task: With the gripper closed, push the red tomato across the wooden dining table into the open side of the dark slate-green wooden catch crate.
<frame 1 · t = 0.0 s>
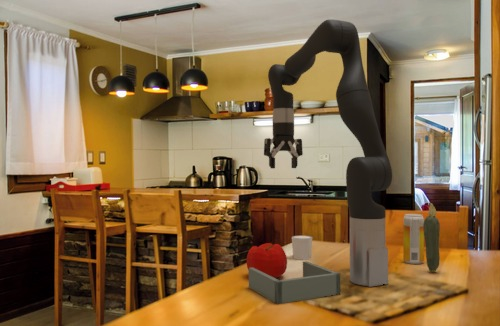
hand: (283, 168, 166), 29 cm above the table, fingers open, 8 cm apart
vegetable: (431, 273, 136), on the table
tomato: (266, 278, 131), on the table
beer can: (413, 263, 149), on the table
white cylindrical piece: (302, 258, 156), on the table
catch crate: (294, 291, 117), on the table
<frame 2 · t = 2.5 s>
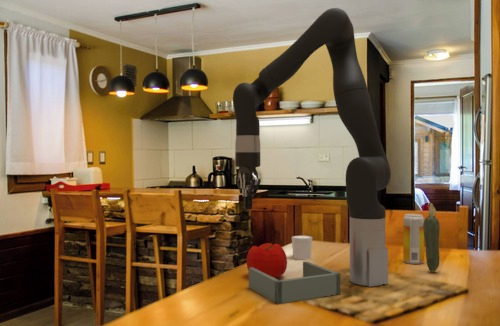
hand: (247, 208, 142), 18 cm above the table, fingers closed
nothing on the table moved.
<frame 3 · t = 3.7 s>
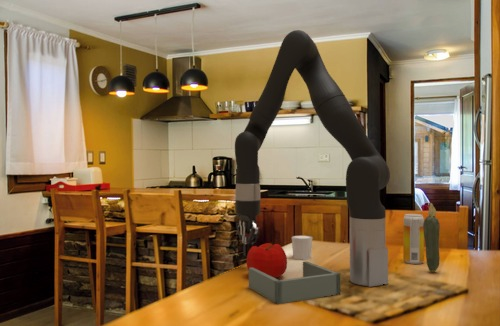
hand: (247, 256, 142), 4 cm above the table, fingers closed
nothing on the table moved.
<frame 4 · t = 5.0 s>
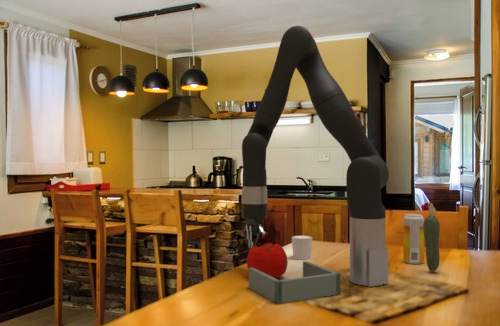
hand: (254, 261, 138), 3 cm above the table, fingers closed
tomato: (266, 278, 131), on the table, touching gripper, hand
everything else where it was.
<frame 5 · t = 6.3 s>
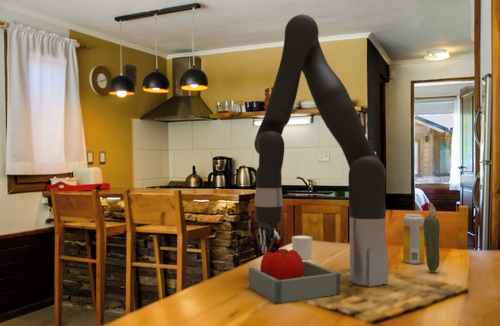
hand: (268, 267, 130), 3 cm above the table, fingers closed
tomato: (281, 286, 122), on the table, touching gripper
everything else where it was.
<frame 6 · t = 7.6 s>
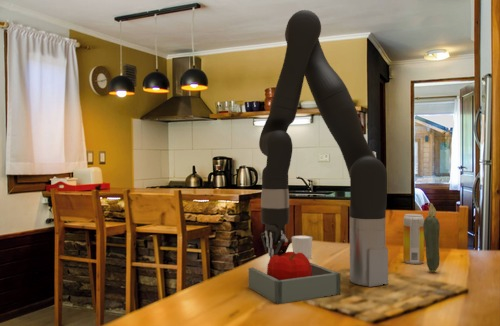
hand: (274, 270, 126), 3 cm above the table, fingers closed
tomato: (289, 290, 119), on the table, touching gripper
everything else where it was.
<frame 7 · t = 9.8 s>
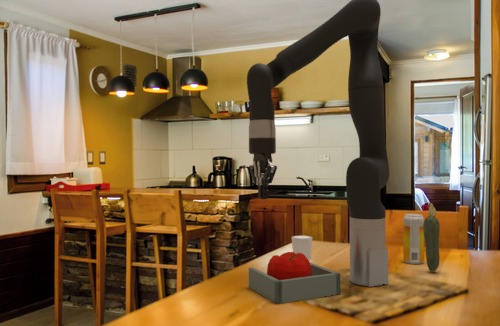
hand: (262, 198, 132), 22 cm above the table, fingers closed
tomato: (289, 290, 119), on the table
everything else where it was.
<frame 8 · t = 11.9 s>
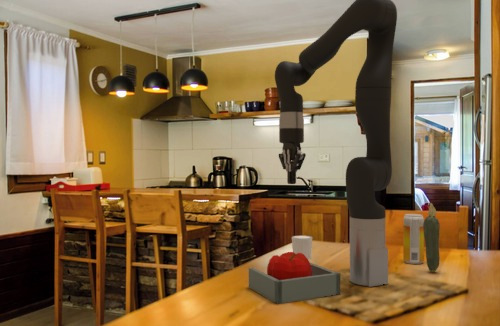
hand: (291, 183, 146), 25 cm above the table, fingers closed
nothing on the table moved.
at the end: tomato inside the target area (1.0 cm from its centre), on the table; tomato moved 13.4 cm from its start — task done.
